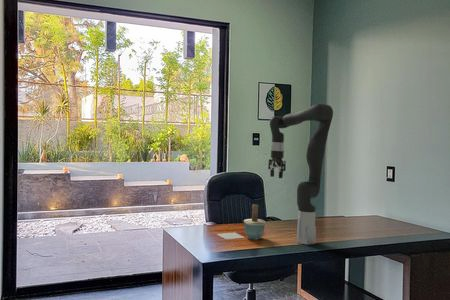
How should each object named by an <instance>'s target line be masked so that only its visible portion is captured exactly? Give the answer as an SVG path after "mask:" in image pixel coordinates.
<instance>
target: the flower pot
mask: <svg viewBox="0 0 450 300" xmlns="http://www.w3.org/2000/svg"><path fill="white" fill-rule="evenodd" d="M243 223H244V222H243ZM264 230H265V224H264V225H248V224H245V223H244V232H245V236H246V238H247V239H248V240H256V241H257V240H260V239H261V238H262V236H263V234H264Z"/></svg>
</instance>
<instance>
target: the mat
mask: <svg viewBox="0 0 450 300" xmlns="http://www.w3.org/2000/svg"><path fill="white" fill-rule="evenodd" d="M216 235H217V236H219V237H221V238H222V239H225V240H233V239H242V238H243V239H244V238H246V237H245V236H243V235H241V234H239V233H237V232H224V233H216Z"/></svg>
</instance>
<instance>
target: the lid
mask: <svg viewBox="0 0 450 300" xmlns="http://www.w3.org/2000/svg"><path fill="white" fill-rule="evenodd" d="M251 206H252V208H251V209H252V210H251V218H247V219H244V220H243V223H245V224H248V225H264V226H265V225H266V221H265V220H264V219H260V218H259V217H258V216H259V204H254V203H253V204H252V205H251ZM245 224H244V225H245Z"/></svg>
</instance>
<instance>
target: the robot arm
mask: <svg viewBox="0 0 450 300" xmlns="http://www.w3.org/2000/svg"><path fill="white" fill-rule="evenodd" d="M333 117H334V110H333V107H332V106H331V105H329V104H326V103H325V104H323V103H316V104H313V105H311V106H309V107H307V108H305V109H303V110H299V111H295V112H290V113H287V114H285V115H284V116H279V115H273V116H272V117H271V118H270V120H269V128H270V131H271V145H270V158H271V159H268V165H267V166H268V167H267V168H268V170H269V171H270V172H269V175H270V177H275V169H277V170H278V179H283V177H284V172H285V171H286V168H287V167H286V160H283V159H284V154H285V151H284V150H285V143H284V141H285V133H283V132H281V129H286V128H289V127H292V126H296V125H300V124H301V123H304V122H306V121H307V122H308V121H309V122H310V121H313V122H314V121H316V122H317V123H318V124H317V127H316V131H315V133H314V134H313V135H312V137H311V139H310V140H309V142H308V144H307V149H306V156H305V157H306V163H307V165H308V170H309V174H308V180H307V181H301V182H299V184H298V185H297V190H296V203H297V232H296V236H297V237H296V243H298V244H301V245H315V244H316V242H317V241H316V239H317V238H316V237H317V236H316V235H317V226H316V210H317V209H316V206H315V205H314V204H312V202H311V199H315V198H317V197H318V196H319V195H320V194H319V193H320V191H321V177H322V170H323V162H324V158H325V153H326V152H325V151H326V147H327V146H326V145H327V141H328V135H329V131H330V127H331V125H332V120H333Z"/></svg>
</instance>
